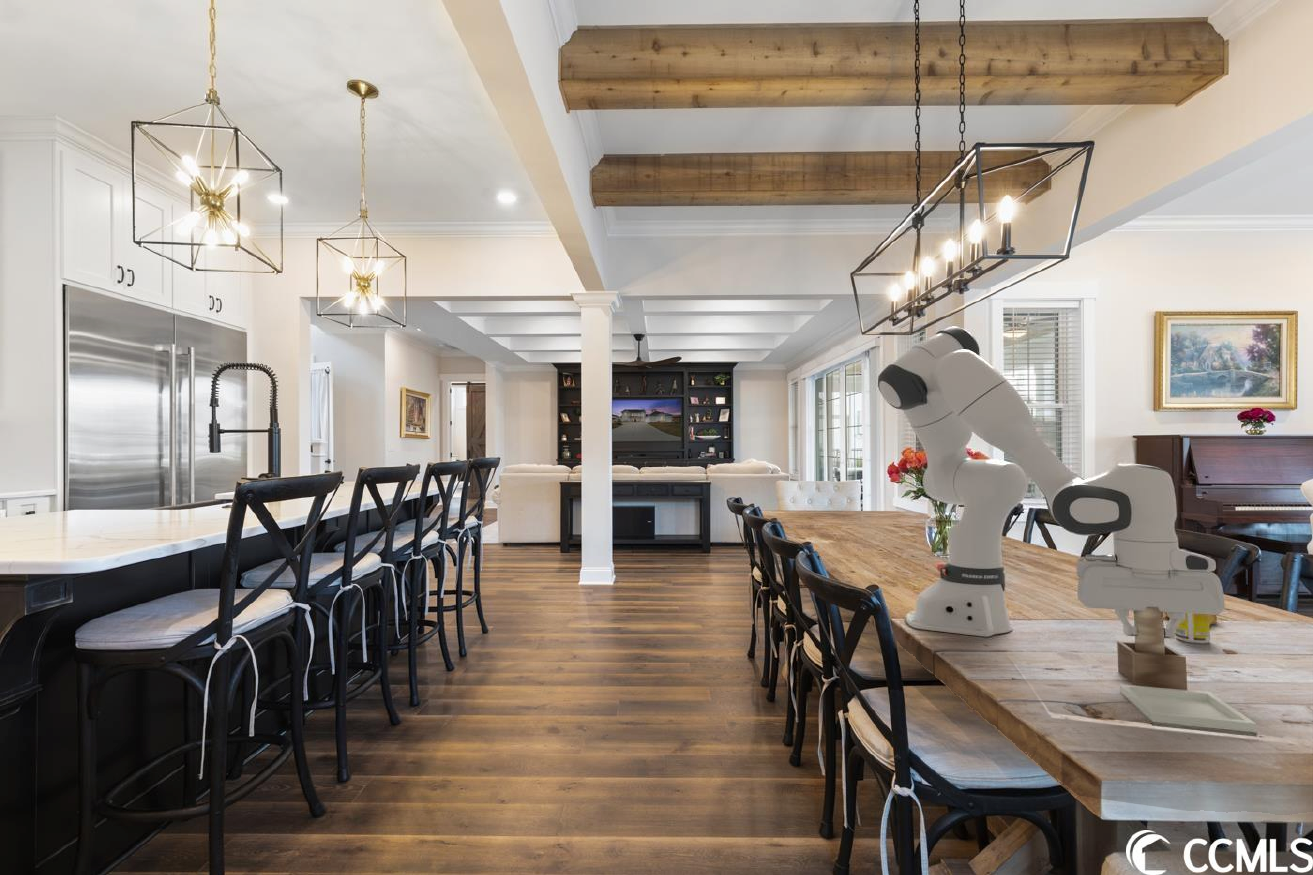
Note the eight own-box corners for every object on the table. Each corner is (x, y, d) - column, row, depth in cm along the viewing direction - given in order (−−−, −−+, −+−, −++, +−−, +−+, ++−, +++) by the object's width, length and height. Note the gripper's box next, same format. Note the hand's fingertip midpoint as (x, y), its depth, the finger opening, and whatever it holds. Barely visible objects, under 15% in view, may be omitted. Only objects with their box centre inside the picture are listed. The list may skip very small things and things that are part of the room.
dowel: (1142, 683, 104) (1138, 606, 105) (1132, 675, 108) (1129, 601, 108) (1170, 685, 103) (1167, 607, 103) (1160, 677, 106) (1156, 602, 107)
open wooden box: (1135, 689, 103) (1133, 653, 103) (1118, 674, 110) (1117, 641, 110) (1187, 693, 101) (1185, 657, 101) (1166, 678, 107) (1165, 644, 108)
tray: (1153, 725, 89) (1152, 713, 89) (1120, 695, 100) (1119, 684, 100) (1256, 736, 85) (1256, 723, 85) (1210, 703, 97) (1210, 692, 97)
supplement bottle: (1212, 640, 129) (1210, 592, 129) (1207, 646, 125) (1204, 596, 126) (1178, 635, 133) (1176, 588, 134) (1172, 640, 130) (1170, 591, 130)
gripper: (1081, 556, 106) (1085, 636, 106) (1227, 561, 100) (1232, 646, 99) (1070, 551, 112) (1073, 627, 112) (1207, 555, 106) (1211, 636, 105)
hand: (1149, 636), depth 106 cm, fingers closed on dowel, 4 cm apart
